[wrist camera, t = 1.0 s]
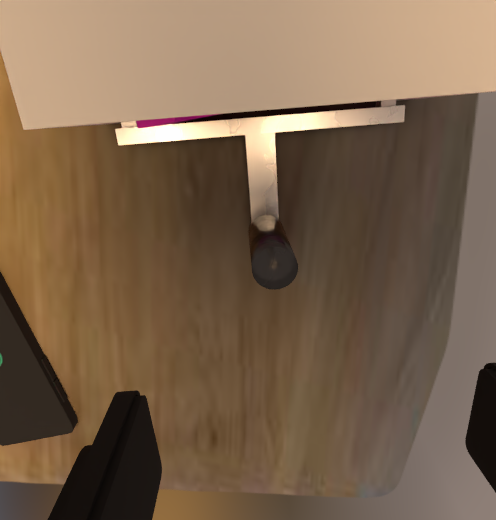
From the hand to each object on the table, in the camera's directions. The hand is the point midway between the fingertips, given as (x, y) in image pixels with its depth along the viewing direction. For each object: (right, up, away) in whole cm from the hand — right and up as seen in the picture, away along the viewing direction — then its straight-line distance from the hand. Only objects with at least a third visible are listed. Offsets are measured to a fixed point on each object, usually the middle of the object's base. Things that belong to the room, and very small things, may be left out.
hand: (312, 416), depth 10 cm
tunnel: (-1, +19, +14) cm, 23 cm away
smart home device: (-25, -3, +23) cm, 34 cm away
